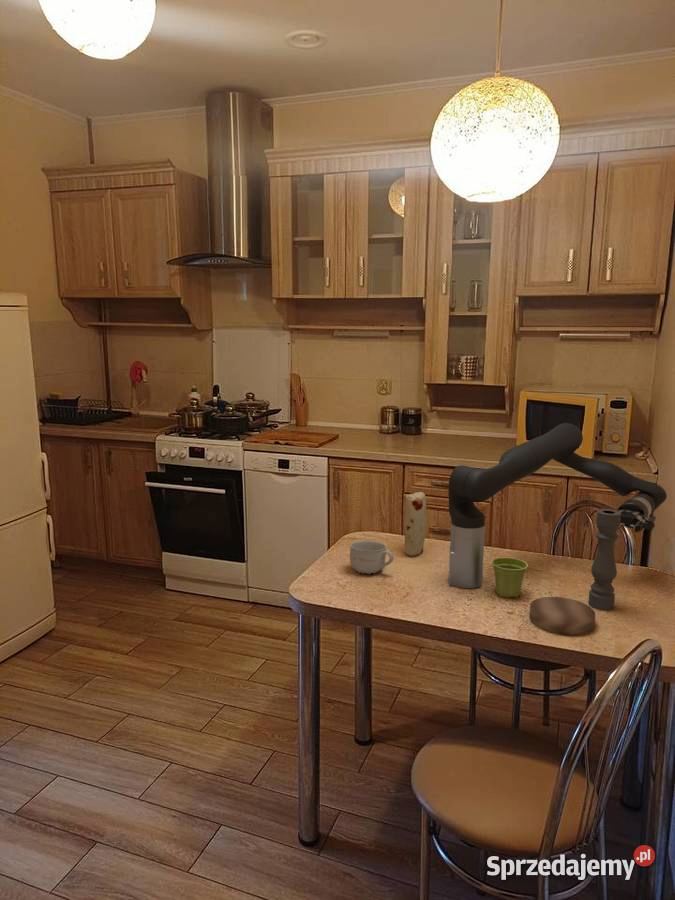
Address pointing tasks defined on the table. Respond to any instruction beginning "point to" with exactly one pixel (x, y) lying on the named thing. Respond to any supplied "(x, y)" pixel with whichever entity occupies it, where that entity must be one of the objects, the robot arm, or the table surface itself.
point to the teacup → (369, 556)
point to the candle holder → (604, 560)
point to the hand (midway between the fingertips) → (619, 525)
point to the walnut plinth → (562, 616)
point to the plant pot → (508, 575)
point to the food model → (415, 523)
